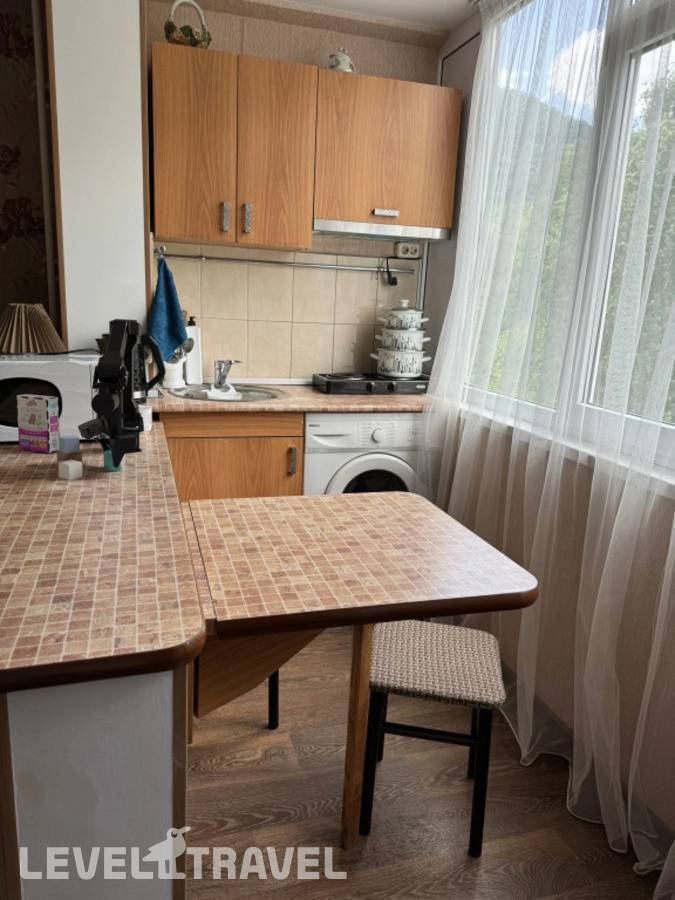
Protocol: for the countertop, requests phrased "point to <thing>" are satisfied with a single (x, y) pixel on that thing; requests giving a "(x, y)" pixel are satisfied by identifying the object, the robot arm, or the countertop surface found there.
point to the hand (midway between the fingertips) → (112, 465)
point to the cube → (70, 469)
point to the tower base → (69, 456)
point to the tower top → (69, 444)
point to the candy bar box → (38, 423)
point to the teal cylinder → (109, 462)
